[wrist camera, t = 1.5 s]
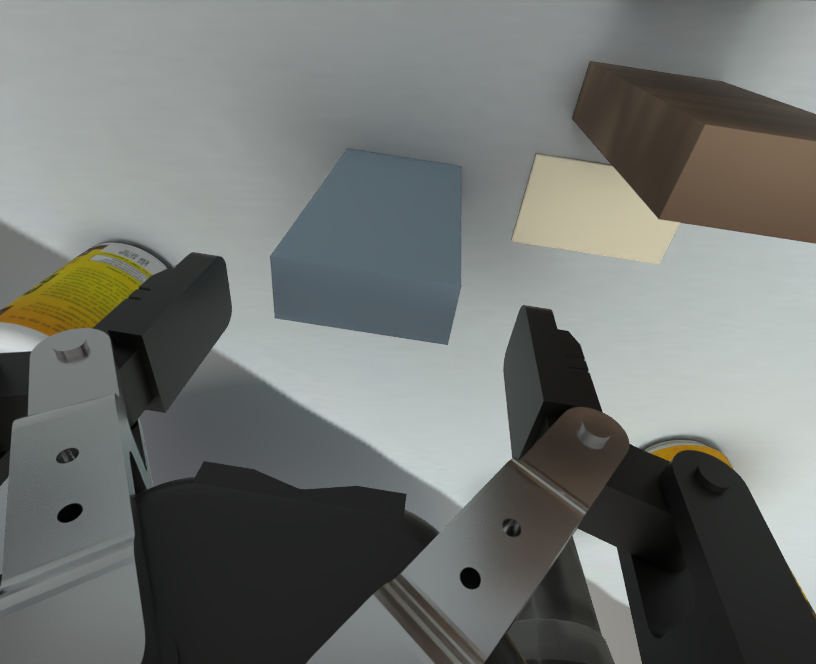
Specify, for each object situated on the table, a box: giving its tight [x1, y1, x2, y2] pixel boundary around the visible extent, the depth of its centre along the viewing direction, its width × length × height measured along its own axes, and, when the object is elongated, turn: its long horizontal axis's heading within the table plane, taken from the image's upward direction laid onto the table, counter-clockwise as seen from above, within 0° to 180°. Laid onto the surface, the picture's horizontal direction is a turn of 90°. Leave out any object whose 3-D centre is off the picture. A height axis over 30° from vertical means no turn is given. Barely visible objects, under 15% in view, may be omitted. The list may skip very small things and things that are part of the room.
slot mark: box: [512, 153, 680, 264], centre depth 20 cm, size 4×7×1 cm, turn 83°
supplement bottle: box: [0, 243, 167, 353], centre depth 21 cm, size 6×6×10 cm
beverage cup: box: [508, 536, 615, 664], centre depth 26 cm, size 7×7×20 cm
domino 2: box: [572, 61, 816, 243], centre depth 13 cm, size 2×5×10 cm, turn 83°
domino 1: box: [270, 149, 461, 345], centre depth 16 cm, size 2×5×10 cm, turn 83°
